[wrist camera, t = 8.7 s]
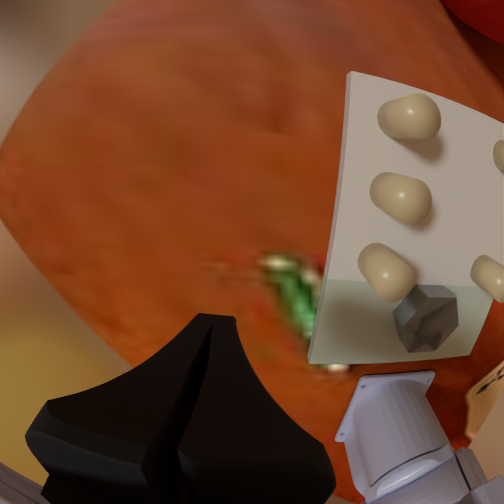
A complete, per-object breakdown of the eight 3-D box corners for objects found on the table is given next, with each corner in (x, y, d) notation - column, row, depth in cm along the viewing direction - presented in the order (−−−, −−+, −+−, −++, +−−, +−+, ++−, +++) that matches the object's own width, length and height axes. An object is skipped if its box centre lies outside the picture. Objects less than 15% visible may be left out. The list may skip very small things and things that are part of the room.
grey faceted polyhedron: (447, 323, 20) (459, 337, 18) (401, 348, 21) (410, 364, 19) (440, 270, 19) (454, 282, 17) (388, 297, 19) (399, 312, 17)
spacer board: (464, 349, 22) (487, 377, 18) (307, 355, 22) (315, 396, 18) (517, 134, 16) (554, 138, 11) (346, 74, 16) (371, 55, 11)
